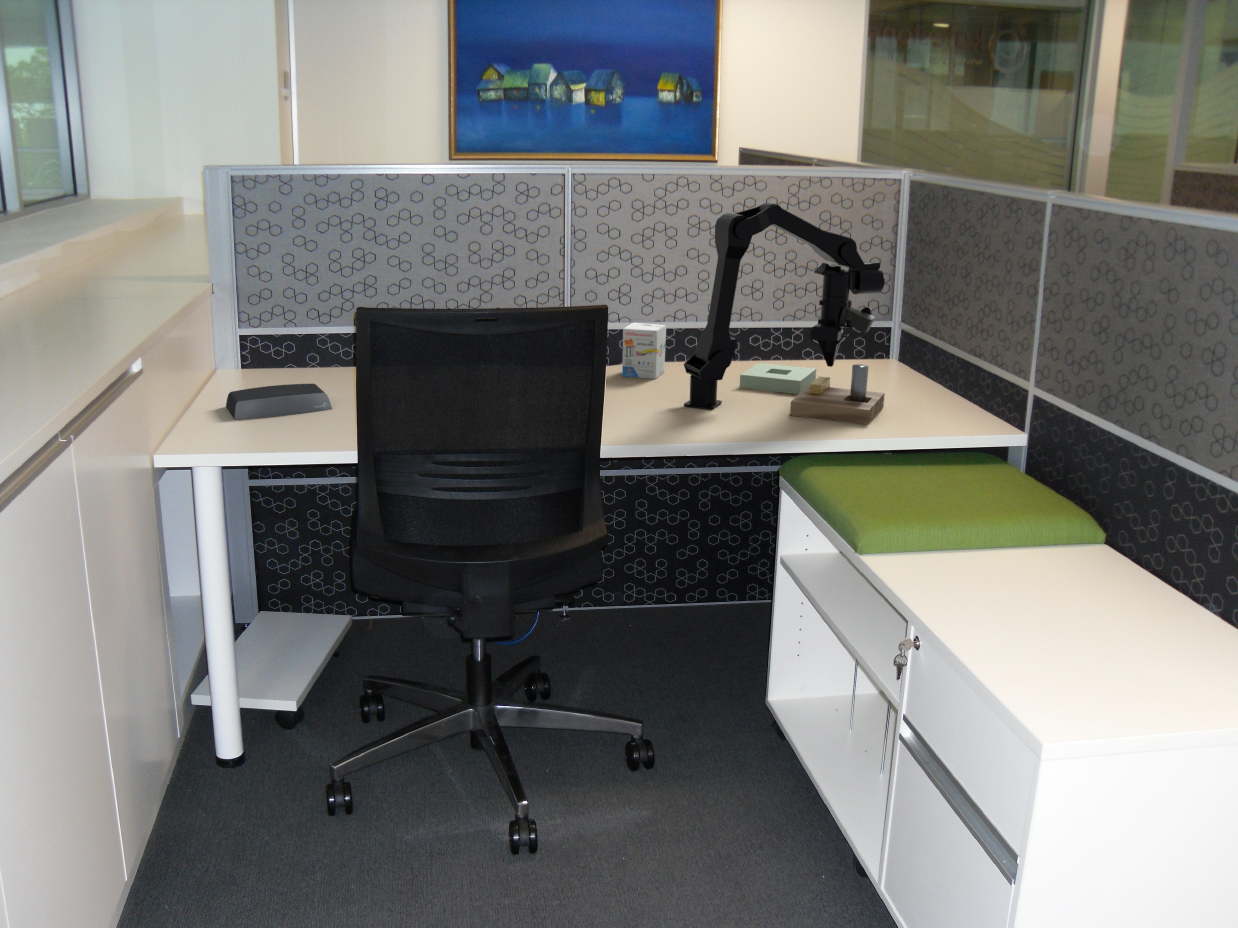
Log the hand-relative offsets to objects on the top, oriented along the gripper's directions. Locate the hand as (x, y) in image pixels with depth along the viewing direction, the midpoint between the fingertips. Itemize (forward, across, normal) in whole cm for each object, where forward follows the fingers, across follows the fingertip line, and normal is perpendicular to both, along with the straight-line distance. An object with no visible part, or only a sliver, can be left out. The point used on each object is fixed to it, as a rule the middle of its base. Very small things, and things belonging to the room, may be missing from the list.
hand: (830, 366), depth 233 cm
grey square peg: (+6, -13, -9) cm, 17 cm away
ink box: (+7, +1, +45) cm, 45 cm away
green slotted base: (+6, +5, +13) cm, 15 cm away
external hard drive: (+8, -62, +100) cm, 118 cm away
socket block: (+6, -13, -5) cm, 15 cm away
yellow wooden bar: (+3, -9, 0) cm, 10 cm away
